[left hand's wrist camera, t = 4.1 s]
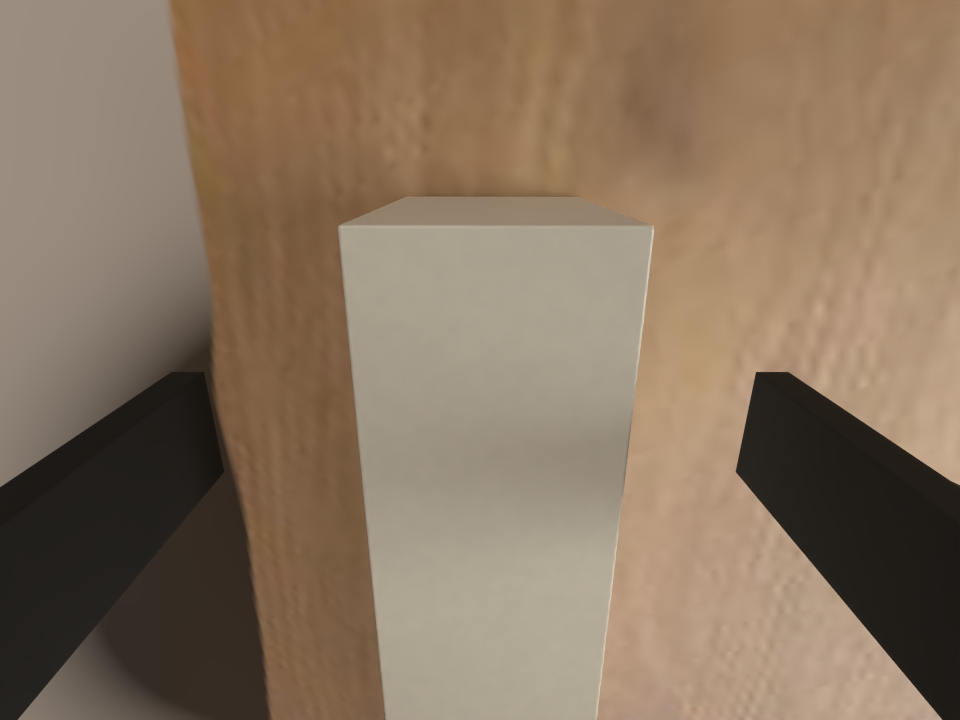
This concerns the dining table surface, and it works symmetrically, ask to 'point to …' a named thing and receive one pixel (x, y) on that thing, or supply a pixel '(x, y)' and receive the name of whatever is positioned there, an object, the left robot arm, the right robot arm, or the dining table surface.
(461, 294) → the bar
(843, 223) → the dining table surface
